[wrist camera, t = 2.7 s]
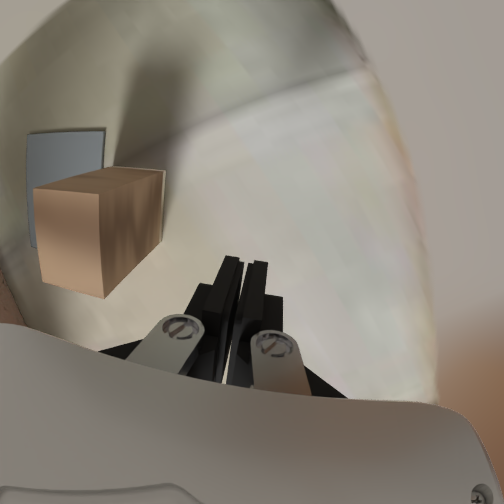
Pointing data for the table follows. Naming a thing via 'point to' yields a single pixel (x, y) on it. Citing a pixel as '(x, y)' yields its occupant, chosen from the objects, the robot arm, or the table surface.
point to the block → (98, 226)
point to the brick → (8, 305)
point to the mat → (59, 161)
